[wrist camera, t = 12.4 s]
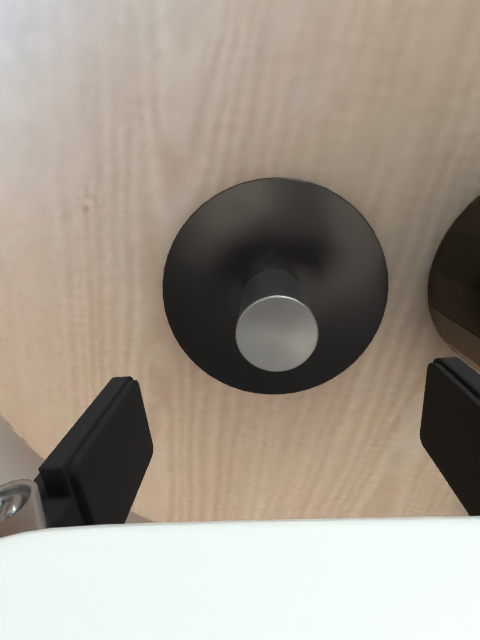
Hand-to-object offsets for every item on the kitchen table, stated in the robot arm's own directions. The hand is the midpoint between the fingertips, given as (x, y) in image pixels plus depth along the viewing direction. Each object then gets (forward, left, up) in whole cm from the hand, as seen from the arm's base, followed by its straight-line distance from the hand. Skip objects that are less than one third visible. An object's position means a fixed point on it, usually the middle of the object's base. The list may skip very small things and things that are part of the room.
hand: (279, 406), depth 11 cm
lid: (0, 0, -12) cm, 12 cm away
